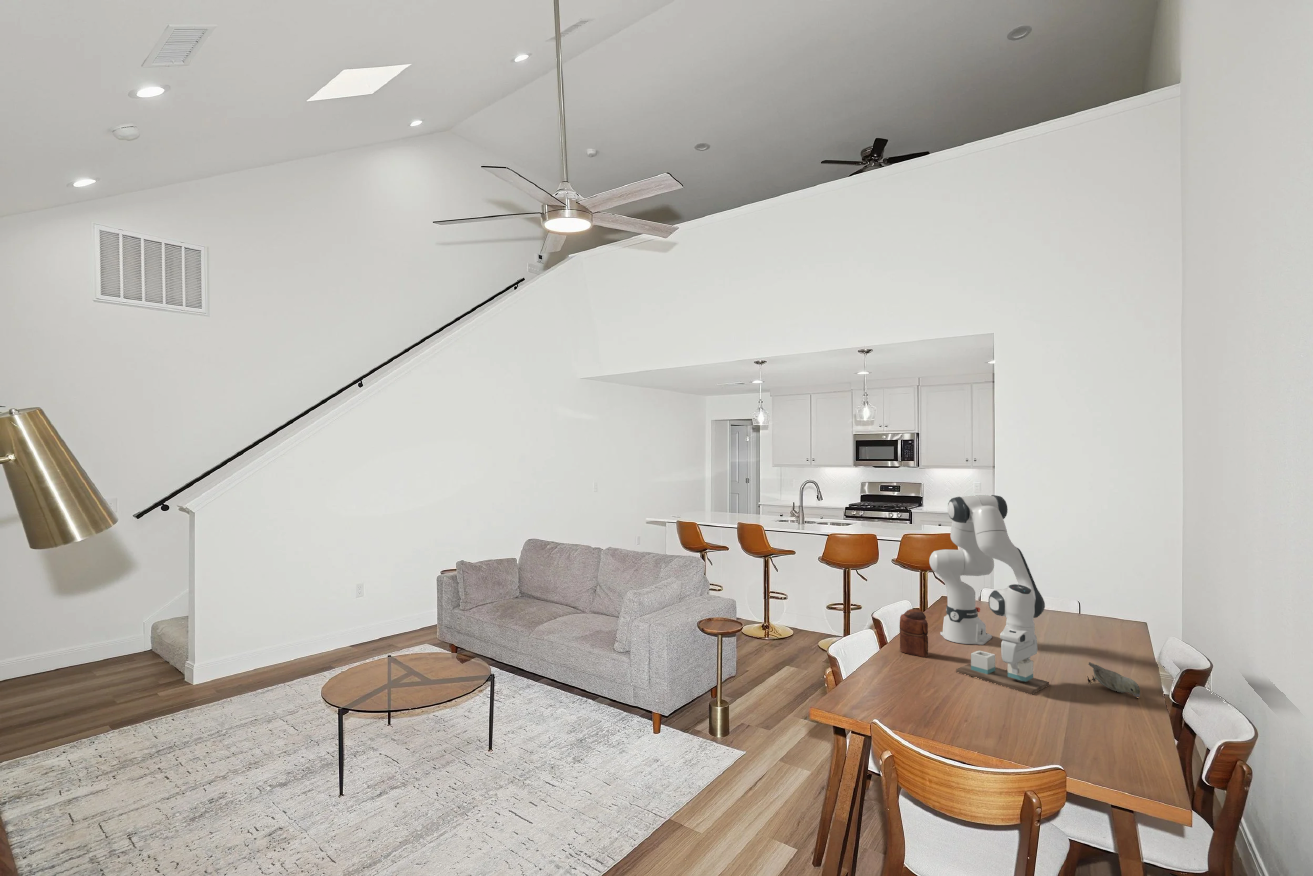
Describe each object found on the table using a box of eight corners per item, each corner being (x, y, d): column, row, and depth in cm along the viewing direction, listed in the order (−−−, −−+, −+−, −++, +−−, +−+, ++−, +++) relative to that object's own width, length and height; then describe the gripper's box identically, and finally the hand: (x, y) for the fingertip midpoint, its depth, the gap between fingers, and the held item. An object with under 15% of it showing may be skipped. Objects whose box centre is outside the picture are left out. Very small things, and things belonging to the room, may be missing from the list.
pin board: (974, 664, 240) (974, 647, 240) (1049, 685, 219) (1048, 666, 219) (956, 672, 232) (956, 654, 232) (1031, 694, 211) (1031, 675, 211)
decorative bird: (1134, 701, 206) (1134, 678, 206) (1084, 684, 221) (1084, 663, 221) (1144, 698, 208) (1143, 676, 208) (1094, 682, 223) (1093, 661, 223)
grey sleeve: (978, 666, 235) (978, 650, 235) (995, 670, 230) (995, 654, 230) (971, 669, 231) (970, 653, 231) (987, 674, 226) (987, 657, 226)
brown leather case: (931, 654, 251) (931, 610, 251) (926, 658, 246) (926, 613, 247) (902, 648, 259) (902, 605, 259) (896, 652, 254) (896, 608, 254)
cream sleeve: (1015, 672, 224) (1015, 656, 225) (1033, 678, 220) (1033, 660, 220) (1007, 676, 221) (1007, 659, 221) (1025, 681, 216) (1025, 664, 216)
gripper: (1023, 625, 229) (1023, 662, 229) (997, 635, 217) (997, 674, 217) (1042, 629, 224) (1042, 667, 224) (1016, 639, 212) (1016, 680, 212)
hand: (1020, 671), depth 220 cm, fingers closed on cream sleeve, 6 cm apart
